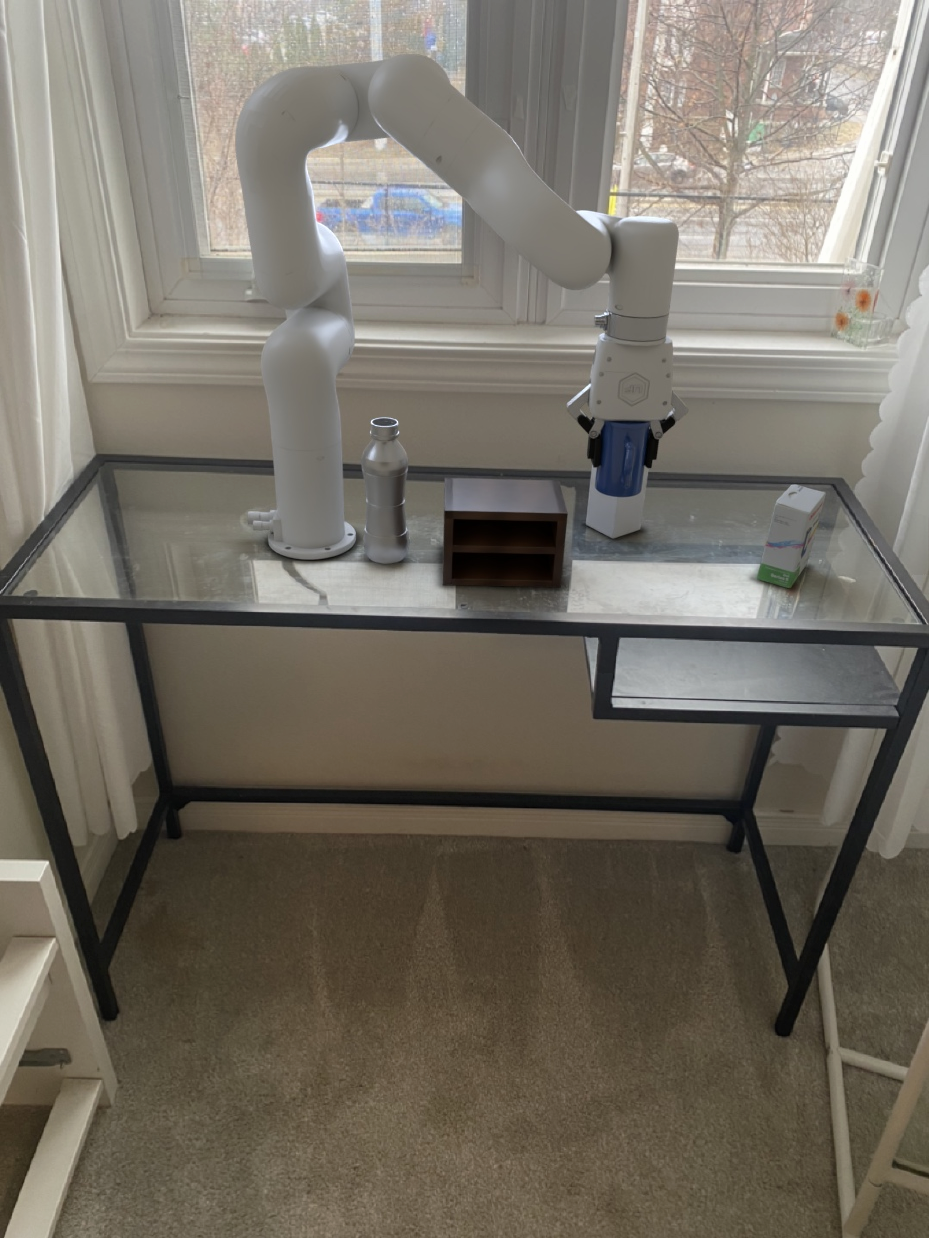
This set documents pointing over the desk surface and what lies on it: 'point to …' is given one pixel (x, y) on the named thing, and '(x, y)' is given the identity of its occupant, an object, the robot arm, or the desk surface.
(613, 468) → the jug
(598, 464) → the robot arm
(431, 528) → the desk surface
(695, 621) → the desk surface
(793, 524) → the ink box
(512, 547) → the shelf
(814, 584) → the desk surface
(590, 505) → the milk
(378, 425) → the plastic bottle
